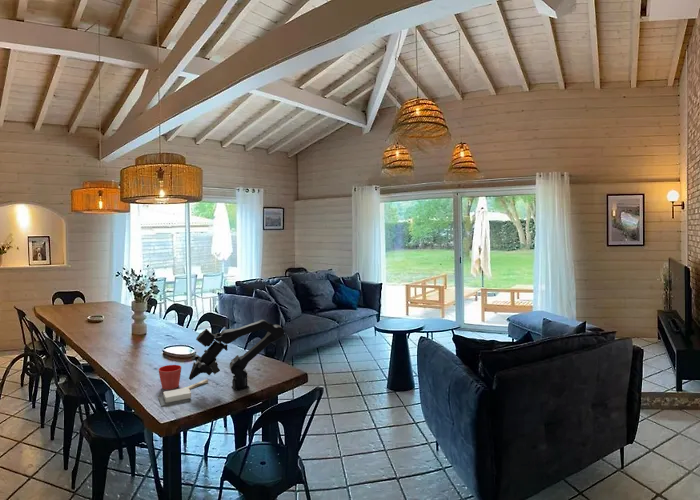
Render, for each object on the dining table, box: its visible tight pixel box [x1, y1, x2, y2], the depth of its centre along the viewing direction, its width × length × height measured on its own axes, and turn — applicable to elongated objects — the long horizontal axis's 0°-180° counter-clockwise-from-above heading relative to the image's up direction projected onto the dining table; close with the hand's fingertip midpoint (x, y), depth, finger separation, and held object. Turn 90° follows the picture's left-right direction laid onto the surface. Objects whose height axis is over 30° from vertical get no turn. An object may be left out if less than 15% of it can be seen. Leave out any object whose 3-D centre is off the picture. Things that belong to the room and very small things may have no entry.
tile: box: [162, 386, 192, 403], centre depth 206 cm, size 3×8×11 cm
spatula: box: [183, 378, 209, 391], centre depth 220 cm, size 18×4×1 cm, turn 144°
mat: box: [157, 395, 190, 408], centre depth 206 cm, size 12×12×1 cm
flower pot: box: [158, 364, 182, 391], centre depth 221 cm, size 11×11×10 cm
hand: (189, 379), depth 209 cm, fingers closed
